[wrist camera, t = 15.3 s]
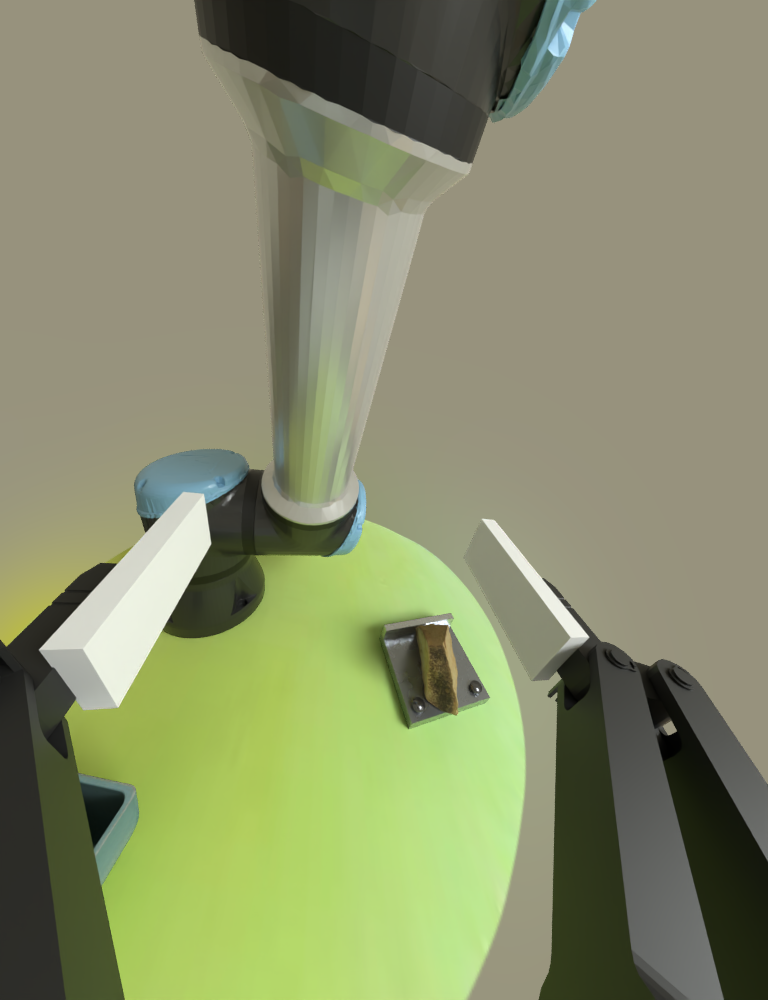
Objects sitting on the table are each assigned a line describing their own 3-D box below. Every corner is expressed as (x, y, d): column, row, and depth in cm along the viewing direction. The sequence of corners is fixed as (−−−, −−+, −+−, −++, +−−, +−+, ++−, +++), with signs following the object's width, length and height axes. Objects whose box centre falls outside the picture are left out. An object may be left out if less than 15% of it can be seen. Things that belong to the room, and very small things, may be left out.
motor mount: (379, 638, 44) (384, 624, 42) (444, 625, 48) (450, 613, 46) (408, 729, 34) (416, 716, 32) (485, 702, 39) (495, 690, 37)
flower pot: (163, 818, 25) (139, 785, 20) (50, 1029, 17) (-29, 1052, 13) (67, 796, 25) (21, 758, 20) (-91, 999, 17) (-221, 1011, 13)
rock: (404, 610, 44) (384, 661, 35) (449, 591, 41) (440, 642, 32) (442, 663, 45) (431, 726, 36) (490, 649, 41) (492, 715, 32)
